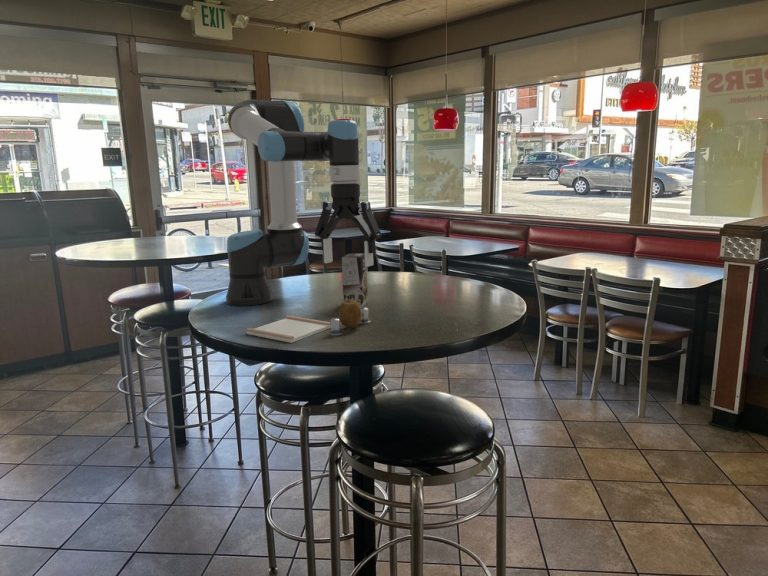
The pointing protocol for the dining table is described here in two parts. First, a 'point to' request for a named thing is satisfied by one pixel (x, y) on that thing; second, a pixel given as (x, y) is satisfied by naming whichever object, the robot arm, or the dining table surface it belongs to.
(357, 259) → the coffee box
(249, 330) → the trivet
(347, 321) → the fruit
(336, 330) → the pins
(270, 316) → the dining table surface
